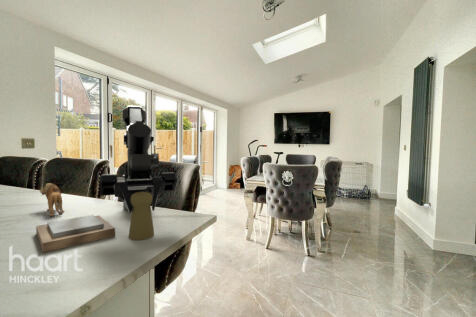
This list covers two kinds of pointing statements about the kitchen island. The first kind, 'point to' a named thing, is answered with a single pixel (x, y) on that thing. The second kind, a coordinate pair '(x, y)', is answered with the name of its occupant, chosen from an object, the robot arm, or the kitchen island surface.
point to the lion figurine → (53, 198)
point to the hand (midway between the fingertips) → (142, 211)
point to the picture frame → (73, 232)
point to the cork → (141, 216)
